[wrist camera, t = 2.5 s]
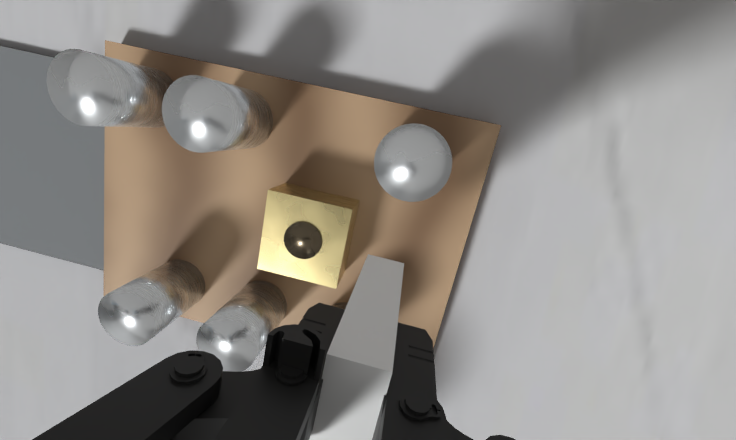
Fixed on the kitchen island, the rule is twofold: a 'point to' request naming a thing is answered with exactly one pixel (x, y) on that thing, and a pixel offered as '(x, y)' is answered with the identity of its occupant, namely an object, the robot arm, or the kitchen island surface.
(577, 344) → the kitchen island surface
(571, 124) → the kitchen island surface
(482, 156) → the board
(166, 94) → the spacers
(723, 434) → the kitchen island surface
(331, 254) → the nut
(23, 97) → the mat
